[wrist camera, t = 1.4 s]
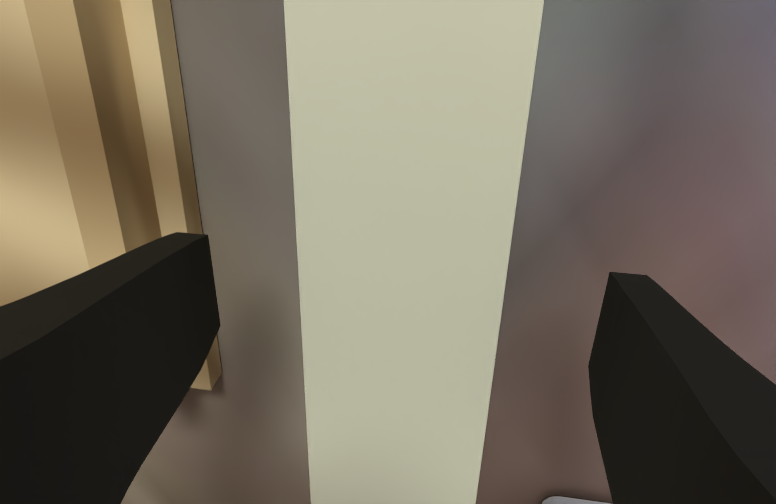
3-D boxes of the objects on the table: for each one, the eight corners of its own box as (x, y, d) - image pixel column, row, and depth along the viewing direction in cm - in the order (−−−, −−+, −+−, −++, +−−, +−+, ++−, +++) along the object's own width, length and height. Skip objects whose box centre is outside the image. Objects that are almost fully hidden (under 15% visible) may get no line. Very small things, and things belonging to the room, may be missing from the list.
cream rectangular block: (476, 397, 18) (468, 553, 14) (355, 382, 18) (312, 530, 14) (533, -74, 12) (551, -59, 8) (355, -80, 13) (279, -69, 8)
